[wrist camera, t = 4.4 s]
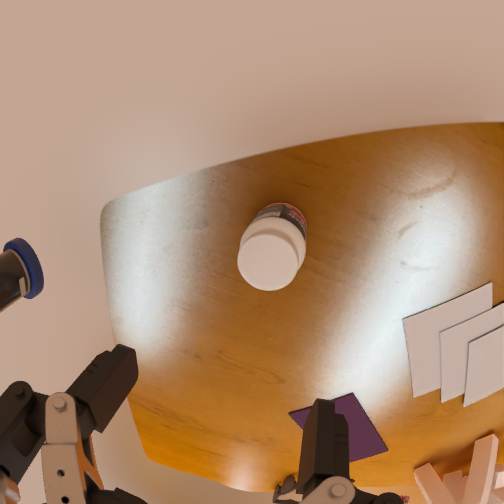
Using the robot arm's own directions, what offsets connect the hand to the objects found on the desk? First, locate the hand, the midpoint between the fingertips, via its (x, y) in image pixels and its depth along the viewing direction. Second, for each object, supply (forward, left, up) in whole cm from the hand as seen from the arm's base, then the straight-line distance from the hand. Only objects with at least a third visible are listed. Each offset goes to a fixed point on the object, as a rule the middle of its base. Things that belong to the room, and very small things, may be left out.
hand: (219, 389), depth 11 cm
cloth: (+19, -33, -22) cm, 44 cm away
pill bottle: (0, +1, -22) cm, 22 cm away
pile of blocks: (+59, -47, -22) cm, 79 cm away
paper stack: (+34, -11, -22) cm, 42 cm away
